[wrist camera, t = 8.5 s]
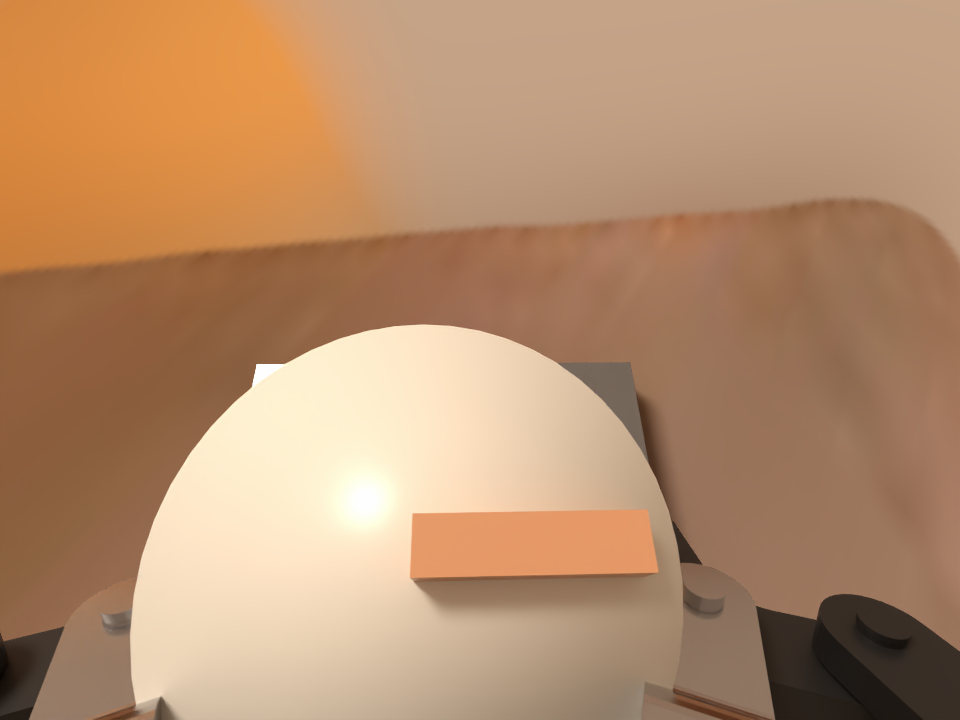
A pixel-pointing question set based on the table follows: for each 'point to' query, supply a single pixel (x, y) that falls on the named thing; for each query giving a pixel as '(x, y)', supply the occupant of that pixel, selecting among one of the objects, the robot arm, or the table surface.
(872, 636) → the robot arm
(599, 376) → the grey base with post
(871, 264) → the table surface
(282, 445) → the knob
